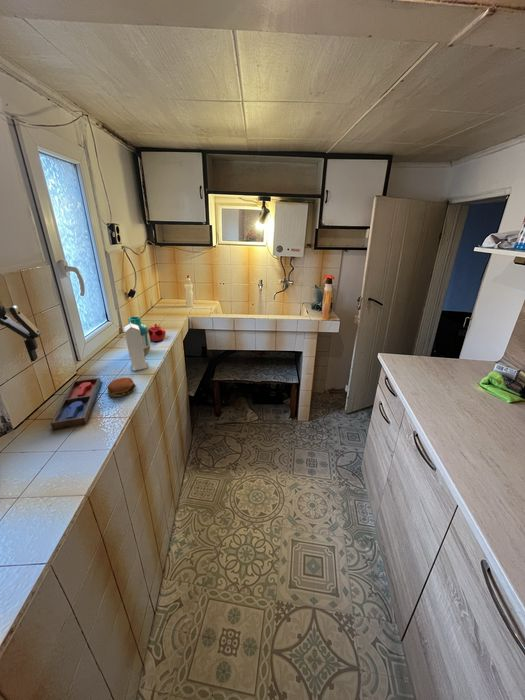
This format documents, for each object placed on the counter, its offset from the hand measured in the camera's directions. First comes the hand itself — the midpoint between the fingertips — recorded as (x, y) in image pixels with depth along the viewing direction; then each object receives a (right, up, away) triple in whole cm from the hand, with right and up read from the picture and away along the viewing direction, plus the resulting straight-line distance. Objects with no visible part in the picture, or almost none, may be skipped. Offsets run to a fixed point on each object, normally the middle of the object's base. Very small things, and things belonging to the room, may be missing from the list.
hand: (7, 362), depth 82 cm
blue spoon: (+9, -18, +16) cm, 26 cm away
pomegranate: (+14, +10, +79) cm, 81 cm away
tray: (+7, -16, +22) cm, 28 cm away
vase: (+13, +2, +62) cm, 63 cm away
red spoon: (+5, -13, +28) cm, 31 cm away
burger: (+19, -13, +30) cm, 38 cm away
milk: (+17, -4, +49) cm, 52 cm away
